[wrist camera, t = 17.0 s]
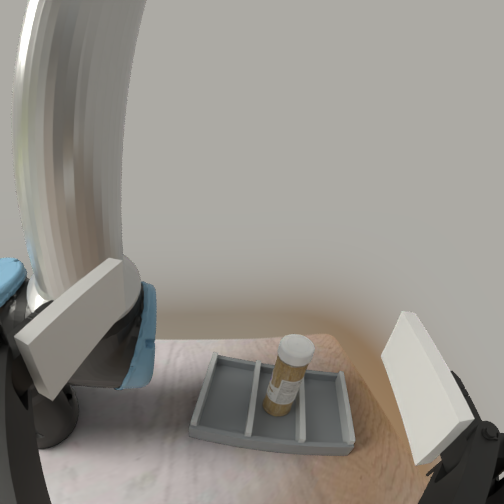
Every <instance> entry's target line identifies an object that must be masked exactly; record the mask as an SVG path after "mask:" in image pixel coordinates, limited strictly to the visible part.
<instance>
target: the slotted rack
mask: <svg viewBox="0 0 504 504" xmlns="http://www.w3.org/2000/svg"><path fill="white" fill-rule="evenodd" d="M274 367H275V365H269V364H263V363H261V361H259V360H256V362H252V361H246V360H241V359H235V358H230V357H225V356H221V355H218V353H217V352H213V355H212V358H211V361H210V364H209V367H208V370H207V373H206V376H205V379H204V382H203V385H202V388H201V391H200V394H199V397H198V400H197V403H196V406H195V410H194V413H193V416H192V419H191V423H190V425H189V437H193V438H197V439H201V440H205V441H210V442H215V443H219V444H224V445H230V446H235V447H241V448H247V449H254V450H261V451H269V452H278V453H289V454H303V455H326V456H347V455H348V454H349V453H350V451H351V450H352V449H353V448H354V442H355V434H354V428H353V422H352V416H351V410H350V404H349V398H348V393H347V388H346V382H345V377H344V372H343V371H339V372H338V373H331V372H322V371H313V370H306V372H305V375H304V378H303V380H302V383H301V385H300V388H299V390H298V392H297V395H296V397H295V399H294V401H293V403H292V405H291V410H290V411H289V413H288V414H286V415H284V416H272V415H270V414H268V413H267V412H266V411H265V410H264V408H263V400H264V398H265V396H266V393H267V388H268V385H269V382H270V379H271V376H272V372H273V369H274Z"/></svg>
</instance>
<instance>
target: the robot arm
mask: <svg viewBox="0 0 504 504" xmlns="http://www.w3.org/2000/svg"><path fill="white" fill-rule="evenodd" d="M145 3H146V0H28V3H27V6H26V10H25V14H24V18H23V22H22V27H21V31H20V36H19V42H18V48H17V55H16V62H15V69H14V79H13V92H12V93H13V94H12V122H11V127H12V154H13V167H14V177H15V186H16V193H17V200H18V207H19V212H20V218H21V223H22V228H23V233H24V237H25V242H26V246H27V250H28V254H29V258H30V262H31V265H32V269H33V272H34V273H33V274H32V276H31V278H30V279H28V278H27V271H26V269H25V268H24V265H23V263H21V261H19V260H18V259H15V258H0V504H51V501H50V498H49V494H48V491H47V487H46V483H45V479H44V475H43V471H42V466H41V462H40V457H39V451H38V449H40V448H47V447H51V446H54V445H56V444H58V443H60V442H61V441H63V440H64V439H65V438H66V437H67V436H68V435H69V434H70V433H71V432H72V430H73V429H74V427H75V425H76V422H77V419H78V413H79V407H78V401H77V398H76V396H75V393H74V391H73V389H72V387H71V385H76V386H87V387H101V388H114V389H115V390H122V389H124V388H142V387H144V386H146V385H147V384H148V383H149V382H150V381H151V378H152V375H153V369H154V358H155V343H154V341H155V334H156V291H155V288H154V286H153V285H151V284H148V283H145V282H141V279H140V274H139V271H138V269H137V267H136V265H135V264H134V263H133V262H132V261H131V260H130V259H129V258H128V257H126V256H125V255H124V254H123V247H122V222H121V176H122V151H123V136H124V124H125V113H126V104H127V95H128V88H129V81H130V75H131V68H132V63H133V57H134V52H135V46H136V41H137V36H138V32H139V27H140V23H141V19H142V15H143V11H144V7H145ZM381 358H382V360H383V363H384V366H385V369H386V371H387V374H388V377H389V380H390V382H391V386H392V389H393V392H394V395H395V398H396V401H397V404H398V407H399V410H400V413H401V417H402V420H403V423H404V426H405V430H406V434H407V437H408V441H409V444H410V448H411V451H412V454H413V459H414V463H415V466H417V465H422V464H427V463H431V462H432V461H433V460H434V459H436V458H437V457H438V456H439V455H440V456H441V459H442V461H440V462H439V463H438V464H437V465H436V466H435V467H433V468H432V469H431V470H430V471H429V472H428V473H427V474H426V476H429V475H430V474H431V473H432V472H434V473H433V475H432V477H431V479H430V482H429V483H428V485H427V487H426V489H425V491H424V493H423V495H422V497H421V499H420V501H419V502H418V504H504V477H503V478H502V479H501V480H499V475H500V474H501V473H502V472H503V471H504V433H500V432H499V430H498V428H497V427H496V426H495V425H494V424H493V423H491V422H488V421H482V420H481V418H480V416H479V414H478V412H477V410H476V408H475V406H474V404H473V402H472V400H471V398H470V396H468V395H469V394H468V392H467V391H466V389H465V387H464V385H463V383H462V382H461V379H460V378H459V377H458V376H457V375H456V374H455V373H454V372H453V371H450V370H449V368H448V366H447V365H446V363H445V362H444V359H443V358H442V356H441V354H440V352H439V351H438V349H437V347H436V346H435V344H434V342H433V341H432V339H431V337H430V336H429V334H428V332H427V331H426V329H425V328H424V326H423V325H422V323H421V321H420V320H419V318H418V317H417V315H416V314H415V313H414V312H406V311H402V312H401V314H400V317H399V319H398V321H397V323H396V326H395V328H394V330H393V332H392V334H391V336H390V339H389V340H388V343H387V344H386V347H385V349H384V350H383V352H382V355H381Z"/></svg>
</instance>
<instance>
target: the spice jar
mask: <svg viewBox="0 0 504 504" xmlns="http://www.w3.org/2000/svg"><path fill="white" fill-rule="evenodd" d="M314 351H315V347H314V344H313V343H312V341H311V340H309V339H308V338H307V337H304V336H302V335H297V334H290V335H287V336H285V337H283V338H282V339H281V341H280V344H279V348H278V357H277V360H276V364H275V367H274V369H273V372H272V376H271V379H270V382H269V385H268V388H267V393H266V396H265V398H264V400H263V408H264V410H265V411H266V412H267V413H268V414H270V415H272V416H284V415H286V414H288V413H289V411H290V410H291V405H292V403H293V401H294V399H295V397H296V395H297V392H298V390H299V388H300V385H301V383H302V380H303V378H304V375H305V372H306V369H307V366H308V364H309V362H310V361H311V359H312V357H313V354H314Z"/></svg>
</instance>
